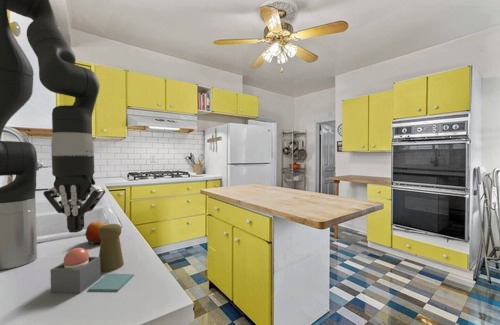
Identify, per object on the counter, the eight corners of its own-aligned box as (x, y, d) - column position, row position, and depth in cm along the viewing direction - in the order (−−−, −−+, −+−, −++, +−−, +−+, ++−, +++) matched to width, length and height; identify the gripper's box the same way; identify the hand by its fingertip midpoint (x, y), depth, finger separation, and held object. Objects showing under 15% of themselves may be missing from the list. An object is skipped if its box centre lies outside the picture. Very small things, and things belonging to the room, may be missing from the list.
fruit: (74, 240, 77) (88, 217, 81) (97, 246, 83) (109, 224, 86) (85, 245, 73) (99, 220, 76) (108, 251, 78) (120, 227, 82)
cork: (111, 272, 58) (110, 229, 58) (91, 270, 60) (90, 227, 59) (128, 262, 64) (128, 222, 64) (110, 260, 65) (109, 221, 65)
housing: (51, 292, 50) (50, 269, 50) (74, 277, 56) (74, 256, 56) (80, 293, 50) (79, 269, 50) (100, 277, 56) (100, 256, 56)
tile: (88, 290, 51) (88, 288, 51) (107, 275, 57) (107, 273, 57) (117, 291, 50) (117, 289, 50) (133, 275, 57) (133, 274, 57)
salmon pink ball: (58, 276, 51) (57, 252, 51) (74, 266, 55) (74, 244, 55) (79, 276, 51) (78, 252, 50) (94, 266, 55) (93, 244, 55)
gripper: (28, 154, 49) (31, 237, 49) (90, 153, 48) (93, 237, 49) (59, 155, 56) (61, 226, 57) (113, 154, 56) (115, 226, 56)
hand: (76, 231), depth 53 cm, fingers closed
